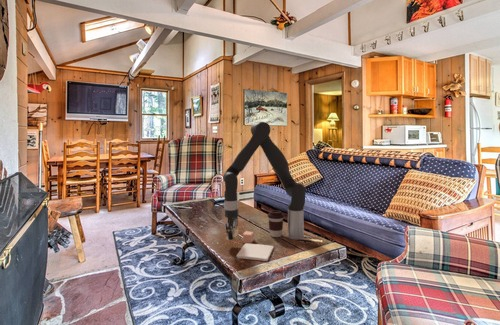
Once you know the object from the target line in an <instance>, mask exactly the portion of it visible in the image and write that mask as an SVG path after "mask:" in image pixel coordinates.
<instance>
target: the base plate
mask: <svg viewBox="0 0 500 325" xmlns="http://www.w3.org/2000/svg"><path fill="white" fill-rule="evenodd" d="M273 250H274V246H273V245H266V244H257V243H244V245H243V246H242V247H241V249H240V250H239V251H238V253H237V254H236V258H237V259H245V260H246V259H247V260H253V261H263V262H268V261H269V260H270V257H271V254H272V252H273Z"/></svg>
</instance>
